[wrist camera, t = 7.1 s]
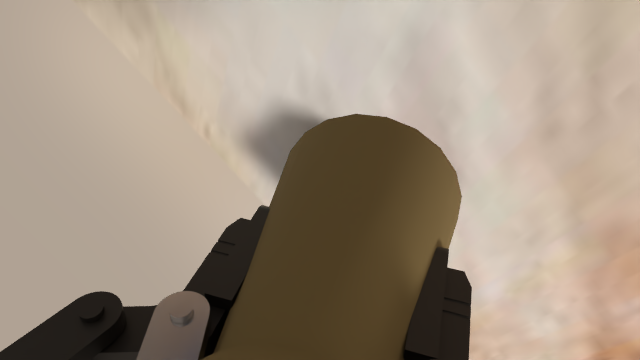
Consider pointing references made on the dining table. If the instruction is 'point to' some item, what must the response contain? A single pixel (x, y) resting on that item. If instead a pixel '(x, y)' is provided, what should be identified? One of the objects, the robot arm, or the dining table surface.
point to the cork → (344, 245)
